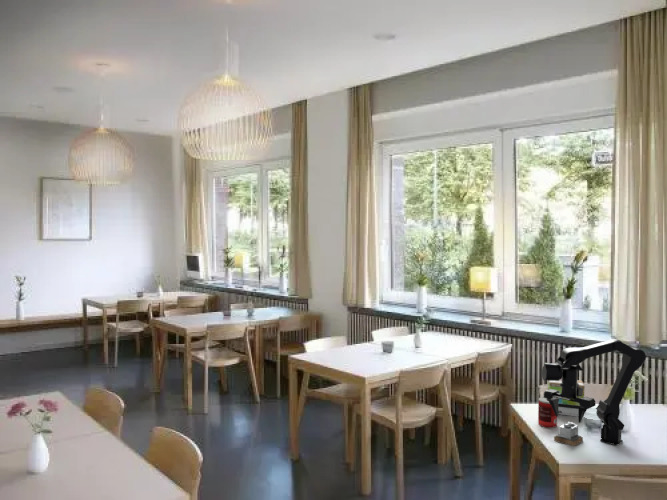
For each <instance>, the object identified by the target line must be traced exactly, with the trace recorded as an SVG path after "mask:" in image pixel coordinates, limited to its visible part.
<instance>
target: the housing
mask: <svg viewBox="0 0 667 500" xmlns="http://www.w3.org/2000/svg"><path fill="white" fill-rule="evenodd" d="M558 434H559V437H563V438H567V439H570V440H571V439H572V438H574V437H576V436H578V435H579V425H578V424H576V423H575V422H571V421H568V422H564V423H563V424H562V425H560V426H559V433H558Z"/></svg>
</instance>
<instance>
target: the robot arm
mask: <svg viewBox="0 0 667 500" xmlns="http://www.w3.org/2000/svg"><path fill="white" fill-rule="evenodd" d="M615 351H617V352H619V353H621V354H622V356H621V367H620V370H619V373H618V374H617V376H616V379H615V381H614V383H613V384H612V388H611V390H610V391H609V394H608V396H607V398H606V399H605V400H602V399H600V400H599V402H598V405H597V407H595V406H596V400H595V398H593V397H588V396H584V397H583V398H577V396H578V397H579V396H582V395H583V388H580V387H579V383H577V380H578V372H579V371H582V372H583V371H584V368H582V367H581V365H580V364H581V363H583V362H584V361H586V360H587V359H589V358H593V357H596V356H597V357H598V356H601V355H604V354H607V353H611V352H612V353H613V352H615ZM560 352H561V353H560V355H559V357H558V358H557V359H556V360H555V362H554V363H548V362H544V363H543V366H542V369H541V377H542V381H546V382H548V381H559V380H560V379H562V383H560V386H562V390H561V393H560V394H559V391H558V390H553V389H549V390H548V389H547V390H544V392H543V397H544V398H547V401H549V403H550V405H551V406H552V408H553V411H554V413H555V415H556V417H557V418H558V417H559V415H560V414H559V408H558V402H559V399H564V400H568V401H573V402H577V403H579V404H580V407H579V410H578V416H577V417H578V424H579V423H582V420H583V418H584V416H585V414H586V411H587V410H589V409H592V408H594V407H595V409H596V416H597V418H598V419H599V420H600V423H602V425H601V426H602V427H601V428H600V440H599V441H600V442H603V443H605V444H606V443H607V444H610V445H614V446H618V445H620V444H622V443H623V439H622V431H623V430H624V427H625V424H624V422H622V421H621V420H620V419H619V417H620V413H621V412H620V410H621V407H620V405H621V402H622V400H623V398H624V396H625V394H626V392H627V389H628V387H629V385H630V383H631V380H632V378H633V376H634V374H635V372H636V371H637V370H639V369H640V368H641V367H642V365H643V364H644V363H645V361H646V359H647V355H646V353H645V351H644V350H642V349H641V348H638V347H635V346H630V345H628V344H627V343H626V344H625V342H622V341H621V340H620V339H616V338H611V339H609V340H606V341H602V342H598V343H594V344H589V345H586V346H584V347H583V346H582V347H565V348H564V349H562V350H561V351H560ZM565 397H566V398H565Z"/></svg>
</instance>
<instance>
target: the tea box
mask: <svg viewBox="0 0 667 500" xmlns="http://www.w3.org/2000/svg"><path fill="white" fill-rule="evenodd" d="M560 383H562V378H561V379H560V380H559V381H547V390H549V389H553V390H558V391H559V394H560V393H561V390H562V386H560ZM577 383H579V387H580V388H583V395H582V396H579V397H578V396H577V398H583V397H585V387H586V386H585V384H584V382H583V380H580V379H579V380H578V379H577ZM565 398H566V397H565ZM579 407H580V404H579V403H577V402H573V401H568V400H564V399H559V402H558V408H559V414H558V415H562V416H563V415H564V416H571V417H572V416H573V417H578V410H579Z"/></svg>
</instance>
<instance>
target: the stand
mask: <svg viewBox="0 0 667 500" xmlns="http://www.w3.org/2000/svg"><path fill="white" fill-rule="evenodd" d="M583 439H584V436H582V435H580V434H578V436H576V437H574V438H572V439H571V440H570V439H567V438H563V437H559V433H558V434H556V435H555V436H553V440H554V442H557V443H562V444H565V445H569V446H572V447H575V446H577V445H578V444H580V443H582V442H583V441H584V440H583Z"/></svg>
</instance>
